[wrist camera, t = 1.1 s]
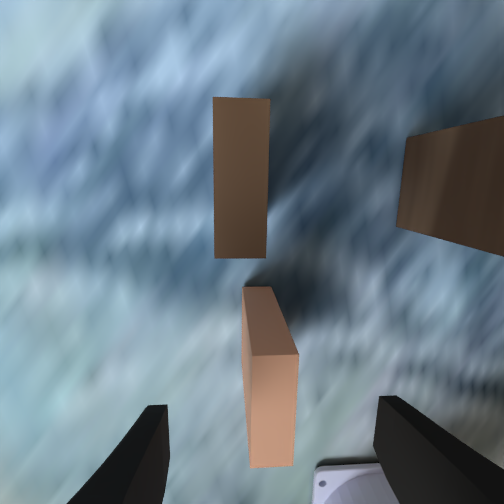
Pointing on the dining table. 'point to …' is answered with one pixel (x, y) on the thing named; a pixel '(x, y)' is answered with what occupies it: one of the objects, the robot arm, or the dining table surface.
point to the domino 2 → (456, 185)
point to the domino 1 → (240, 176)
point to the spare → (268, 379)
